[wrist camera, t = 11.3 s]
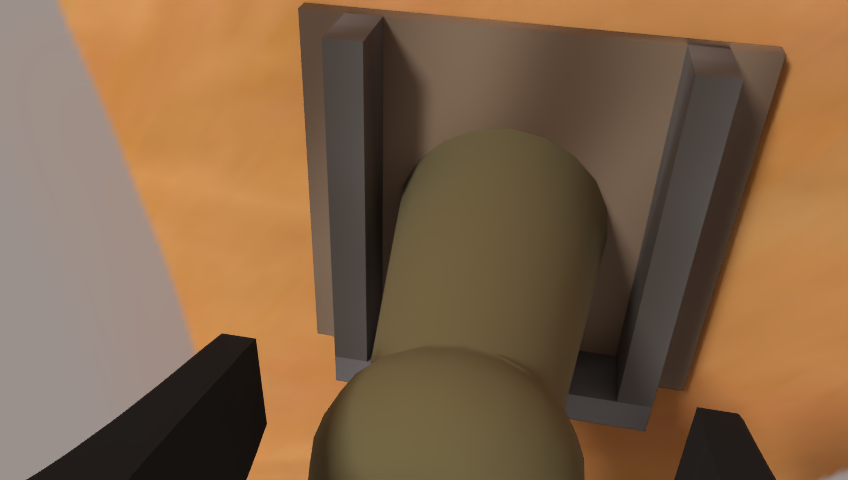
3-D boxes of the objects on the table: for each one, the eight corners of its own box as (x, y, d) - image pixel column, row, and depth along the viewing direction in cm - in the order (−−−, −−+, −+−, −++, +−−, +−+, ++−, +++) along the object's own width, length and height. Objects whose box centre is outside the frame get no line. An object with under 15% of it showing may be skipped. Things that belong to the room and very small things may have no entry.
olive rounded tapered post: (552, 335, 24) (519, 696, 15) (373, 261, 24) (230, 582, 15) (648, 181, 20) (682, 530, 11) (439, 93, 20) (306, 378, 11)
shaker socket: (781, 46, 18) (804, 86, 16) (681, 379, 25) (688, 438, 22) (304, 2, 20) (270, 33, 18) (322, 324, 26) (298, 373, 24)
